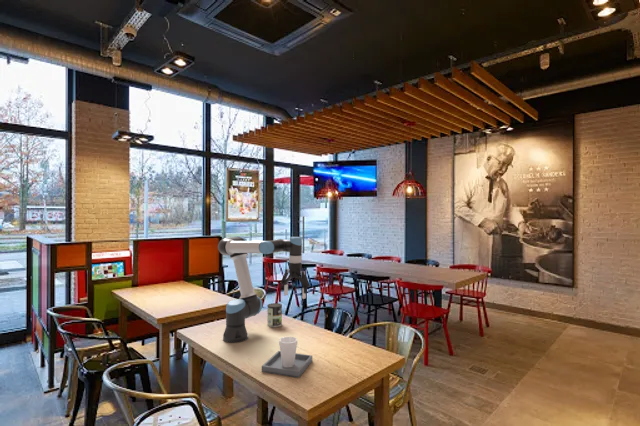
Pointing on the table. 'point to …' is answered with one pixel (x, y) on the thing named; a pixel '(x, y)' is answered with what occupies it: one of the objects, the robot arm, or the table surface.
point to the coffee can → (274, 315)
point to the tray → (295, 371)
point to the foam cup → (288, 350)
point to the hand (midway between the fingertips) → (294, 296)
